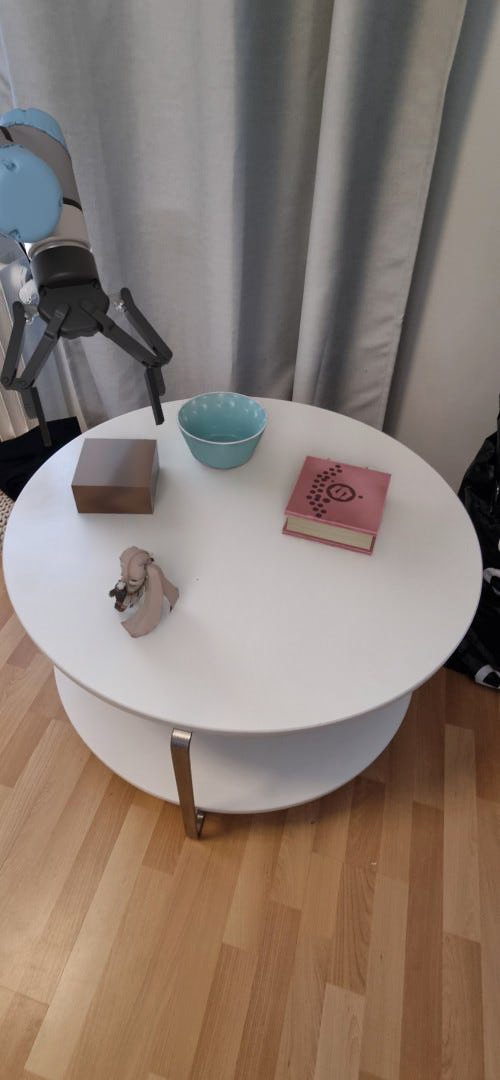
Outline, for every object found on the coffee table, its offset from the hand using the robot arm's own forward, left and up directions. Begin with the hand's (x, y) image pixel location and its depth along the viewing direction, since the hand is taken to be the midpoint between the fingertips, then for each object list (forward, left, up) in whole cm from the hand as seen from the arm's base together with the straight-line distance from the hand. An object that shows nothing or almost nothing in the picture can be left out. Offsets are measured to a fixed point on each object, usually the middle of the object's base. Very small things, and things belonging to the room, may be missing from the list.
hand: (105, 433), depth 71 cm
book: (+33, +11, -23) cm, 42 cm away
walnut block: (-3, +16, -23) cm, 28 cm away
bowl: (+14, +26, -23) cm, 38 cm away
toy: (+4, -10, -23) cm, 26 cm away
